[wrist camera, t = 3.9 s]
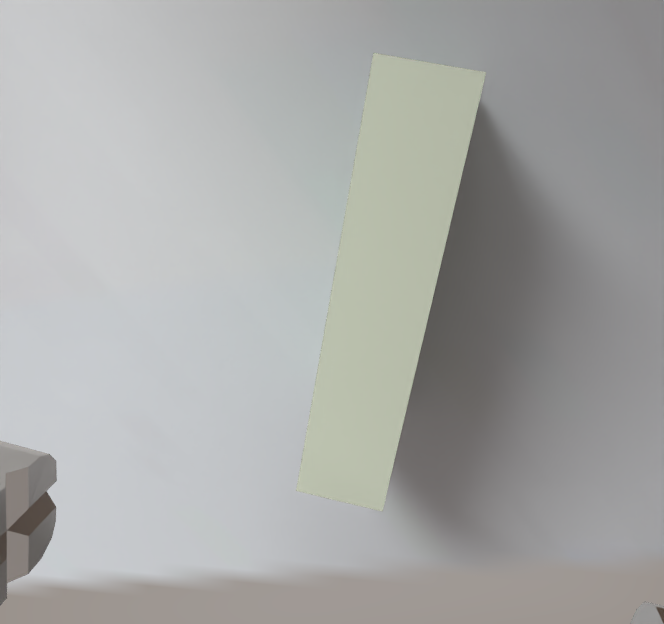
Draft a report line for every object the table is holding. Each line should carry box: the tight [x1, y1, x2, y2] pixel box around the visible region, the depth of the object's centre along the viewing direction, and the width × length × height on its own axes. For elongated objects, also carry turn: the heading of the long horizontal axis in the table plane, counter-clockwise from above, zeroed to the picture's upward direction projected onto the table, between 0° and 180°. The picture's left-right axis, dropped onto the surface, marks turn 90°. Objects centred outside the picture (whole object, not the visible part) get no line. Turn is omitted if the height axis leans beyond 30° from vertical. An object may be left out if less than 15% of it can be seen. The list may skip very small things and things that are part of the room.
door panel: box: [296, 53, 486, 511], centre depth 22 cm, size 3×14×8 cm, turn 170°
